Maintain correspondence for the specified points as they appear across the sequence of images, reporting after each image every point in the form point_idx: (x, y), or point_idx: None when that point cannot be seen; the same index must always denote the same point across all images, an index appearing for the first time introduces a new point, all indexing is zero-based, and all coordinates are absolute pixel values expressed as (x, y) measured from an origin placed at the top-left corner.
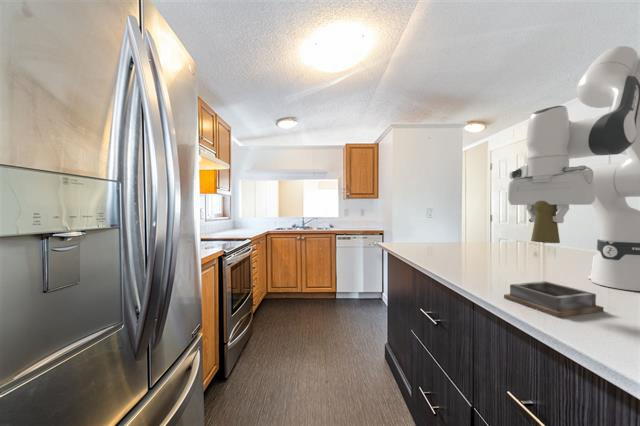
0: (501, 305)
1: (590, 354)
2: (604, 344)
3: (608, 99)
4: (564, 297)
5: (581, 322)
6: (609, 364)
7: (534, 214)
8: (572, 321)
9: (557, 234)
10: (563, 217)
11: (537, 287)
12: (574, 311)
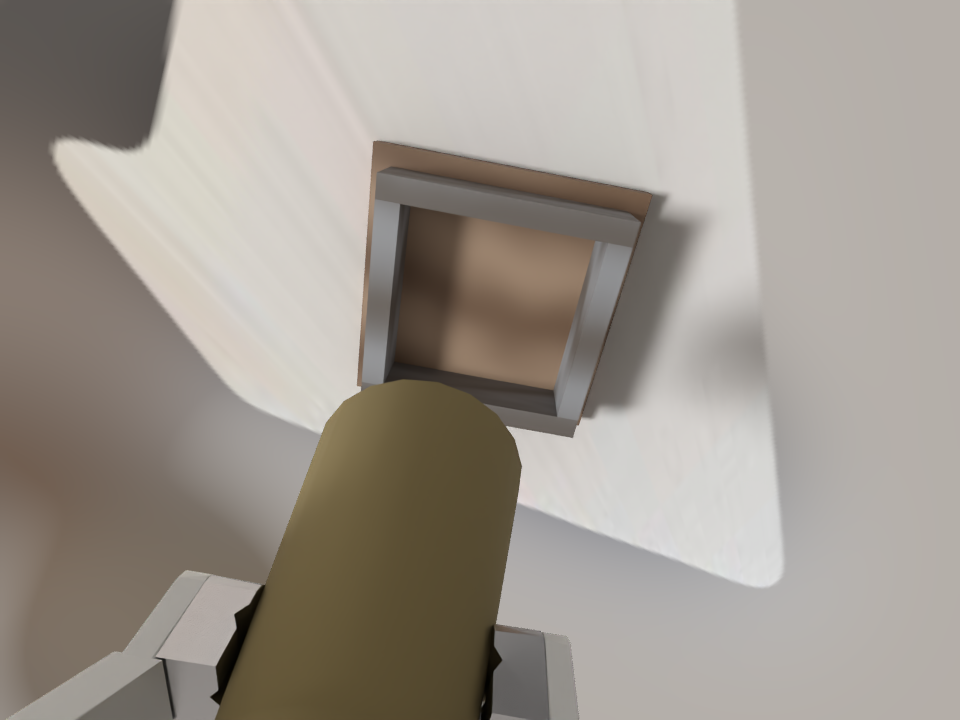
0: None
1: (712, 571)
2: (721, 504)
3: None
4: (582, 402)
5: (637, 399)
6: (747, 583)
7: (155, 711)
8: (617, 413)
9: (511, 525)
10: (575, 705)
11: (399, 261)
12: (600, 356)
